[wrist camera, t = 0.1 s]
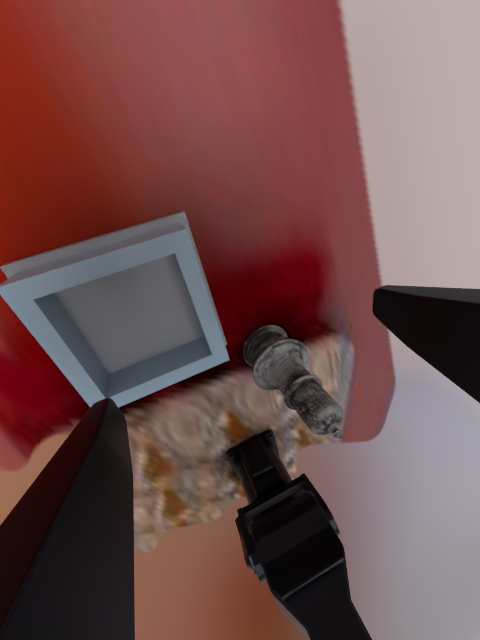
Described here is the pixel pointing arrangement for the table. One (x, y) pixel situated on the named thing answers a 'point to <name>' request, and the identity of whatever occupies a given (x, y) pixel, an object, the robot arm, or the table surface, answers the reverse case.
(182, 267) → the holder
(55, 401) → the table surface
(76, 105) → the table surface
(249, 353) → the grey stone tall figure
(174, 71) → the table surface
